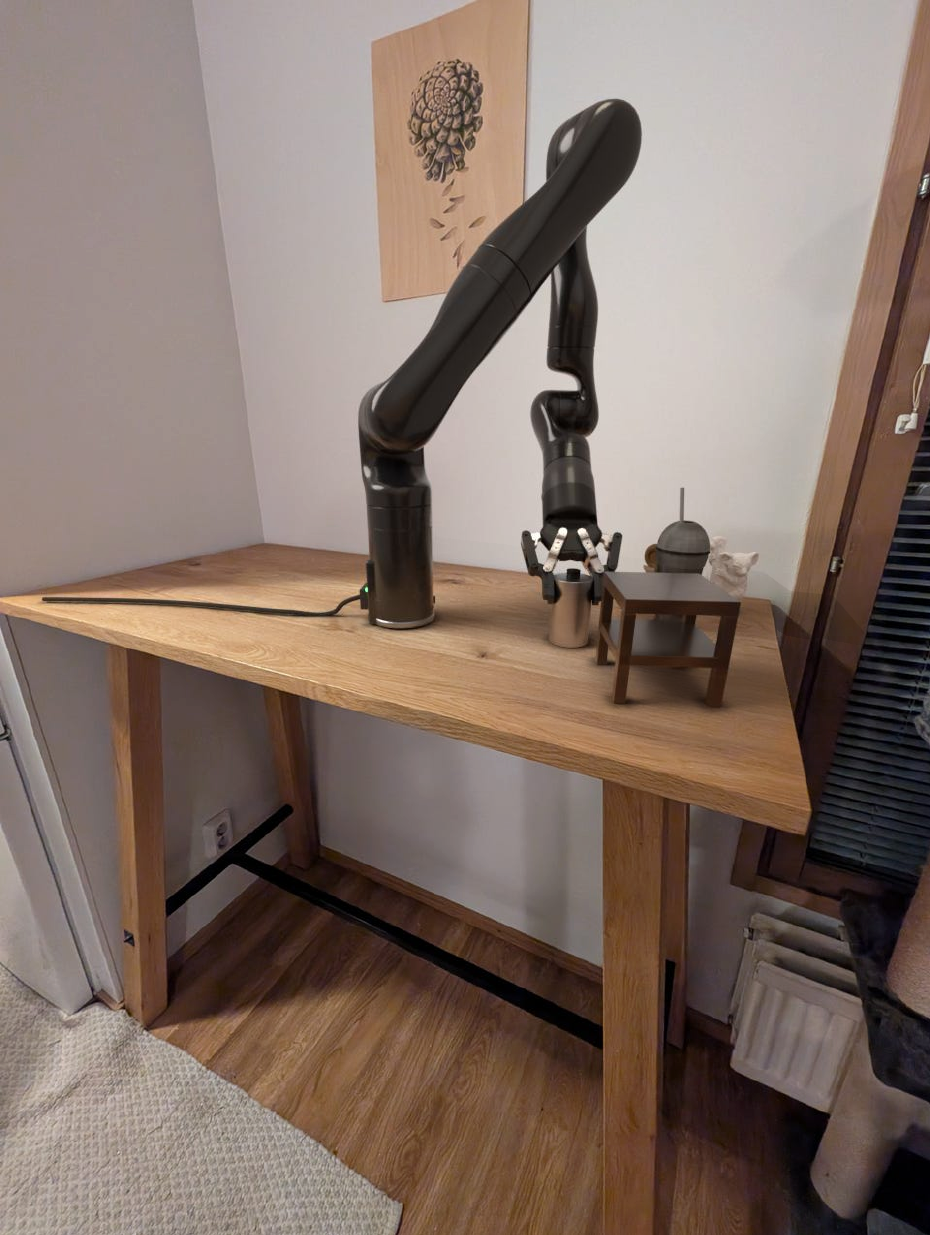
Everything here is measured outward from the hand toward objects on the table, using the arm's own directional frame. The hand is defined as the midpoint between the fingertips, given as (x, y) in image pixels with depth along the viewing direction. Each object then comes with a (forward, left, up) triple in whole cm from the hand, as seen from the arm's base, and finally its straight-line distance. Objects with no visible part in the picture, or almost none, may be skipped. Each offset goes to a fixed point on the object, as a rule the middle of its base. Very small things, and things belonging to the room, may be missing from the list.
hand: (573, 601), depth 67 cm
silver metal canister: (0, +2, -6) cm, 7 cm away
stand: (+8, -10, -6) cm, 14 cm away
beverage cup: (+16, +9, -6) cm, 19 cm away
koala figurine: (+26, +17, -6) cm, 32 cm away
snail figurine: (+16, +18, -6) cm, 25 cm away
